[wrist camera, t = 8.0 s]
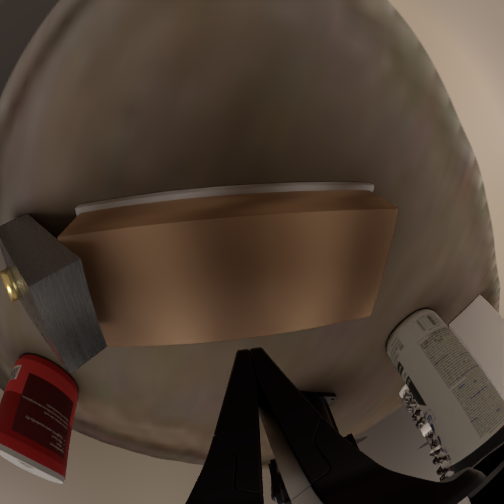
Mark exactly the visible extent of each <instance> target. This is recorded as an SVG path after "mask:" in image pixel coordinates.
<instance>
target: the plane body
mask: <svg viewBox="0 0 504 504" xmlns="http://www.w3.org/2000/svg"><path fill="white" fill-rule="evenodd" d="M373 190H374V185H373V184H371V183H369V182H294V183H267V184H248V185H232V186H219V187H207V188H196V189H185V190H176V191H167V192H158V193H150V194H143V195H135V196H128V197H121V198H115V199H108V200H102V201H96V202H90V203H85V204H79V205H78V206H77V207H76V208H75V211H76V215H77V217H76V218H75V219H74V220H73V221H72V222H71V223H70V224H69V225H68V226H67V227H66V228H65V230H64V231H63V232H62V233H61V234H60V235H59V236H58V237H57V238H58V241H60V242H61V243H62V244H63V245H64V246H66V247H67V248H68V249H69V250H71V251H72V252H73V253H74V254H76V255H77V256H78V257H79V258H81V261H82V265H83V269H84V274H85V277H86V281H87V285H88V289H89V292H90V296H91V299H92V303H93V306H94V309H95V312H96V315H97V319H98V322H99V325H100V327H101V330H102V333H103V336H104V339H105V341H106V344H107V347H120V346H157V345H176V344H191V343H203V342H214V341H224V340H234V339H242V338H250V337H258V336H265V335H273V334H279V333H286V332H292V331H298V330H304V329H310V328H315V327H321V326H326V325H331V324H336V323H341V322H346V321H351V320H355V319H360V318H364V317H368V316H370V315H371V313H372V310H373V307H374V303H375V300H376V297H377V294H378V291H379V288H380V284H381V281H382V277H383V274H384V270H385V267H386V263H387V259H388V255H389V251H390V247H391V243H392V239H393V235H394V230H395V226H396V221H397V216H398V211H399V209H398V208H397V207H395V206H394V205H392V204H391V203H389V202H388V201H386V200H384V199H383V198H381V197H380V196H378V195H376V194H375V193H373Z"/></svg>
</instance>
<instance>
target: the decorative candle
mask: <svg viewBox="0 0 504 504" xmlns="http://www.w3.org/2000/svg"><path fill="white" fill-rule="evenodd" d="M399 395H400V396H401V398H403V399H402V401H403V404H405V405H407V407H406V409H407V411H408V412H412V413H414V414H413V416H412V420H414V421H415V420H418V422H417V424H416V427H417V428H420V430H421V432H422V434H423V436H424V437H426V439H427V441H428V443H429V445H430V447H431V449H432V450H431V451H430V456H435V455H436V457H435V458H434V460H433V464H439V463H440V465H441V466H440V467H439V469H438V470H437V474H438V475H442V474H443V475H442V476H441V478H440V481H442V480H444V479H446V478H448V477H450V476H452V475H453V474H455V473H454V471H453V470H452V468H451V465H450V463H449V461H448V459H447V457H446V455H445V453H444V451H443V449H442V447H441V446H440V444H439V442H438V440H437V438H436V436H435V434H434V432H433V430H432V429H431V427H430V425H429V423H428V421H427V419H426V418H425V416H424V414H423V412H422V410H421V409H420V407H419V405H418V403H417V402H416V400H415V398H414V396H413V395H412V393H411V391H410V390H409V388H408V386H407V385H406V384H405V385H404V386H403V387H402V388H401V390H400V392H399ZM445 477H446V478H445Z"/></svg>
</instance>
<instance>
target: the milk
mask: <svg viewBox="0 0 504 504" xmlns="http://www.w3.org/2000/svg"><path fill="white" fill-rule="evenodd" d="M449 329H450V330H451V331H452V332H453V333H454V335H455V336H456V337H457V338H458V339H459V341H460V342H461V343H462V345H463V346H464V347H465V348H466V349H467V351H468V352H469V353H470V355H471V356H472V357H473V358H474V360H475V361H476V362H477V364H478V365H479V366H480V368H481V369H482V370H483V372H484V373H485V375H486V376H487V377H488V379H489V380H490V382H491V383H492V384H493V386H494V387H495V389H496V390H497V392H498V393H499V395H500V396H501V398H502V399H503V401H504V319H503V318H502V317H501V316H500V315H499V313H498V312H497V311H496V310H495V309H494V308H493V307H492V306H491V305H490V304H489V303H488V302H487V301H486V300H485V299H484V298H483V297H482V296H481V295H478V296H477V297H476V299H475V300H474V301H473V302H472V303H471V304H470V305H469V306H468V307H467V308H466V309H465V310H463V311H462V312H461V313H460V314H459V315H458V316H457V317H456V318H455V319H454V320H453V321H452V322H451V323H450V324H449Z"/></svg>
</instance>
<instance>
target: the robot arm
mask: <svg viewBox="0 0 504 504" xmlns="http://www.w3.org/2000/svg"><path fill="white" fill-rule="evenodd" d="M336 398H337V397H336V395H335V394H321V393H306V392H300V391H299V390H298V389H297V388H296V387H295V386H294V385H293V383H292V382H291V381H290V380H289V379H288V378H287V377H286V375H285V374H284V373H283V372H282V371H281V370H280V368H279V367H278V366H277V365H276V364H275V363H274V361H273V360H272V359H271V358H270V357H269V356H268V354H267V353H266V352H265V351H264V350H263V349H262V348H260V347H259V348H252V349H250V351H249V350H248V349H244V350H238V351H237V353H236V356H235V360H234V364H233V367H232V371H231V375H230V378H229V382H228V386H227V389H226V393H225V397H224V400H223V404H222V408H221V411H220V415H219V418H218V422H217V426H216V429H215V433H214V435H215V436H213V439H212V443H211V446H210V449H209V452H208V456H207V459H206V461H205V463H204V466H203V469H202V471H201V473H200V475H199V477H198V479H197V481H196V483H195V485H194V488H193V490H192V492H191V494H190V496H189V498H188V500H187V502H186V503H185V504H264V499H263V482H262V464H261V446H260V428H259V413H260V416H261V419H262V422H263V425H264V428H265V431H266V434H267V437H268V440H269V443H270V446H271V449H272V451H273V454H274V457H275V459H273V460H270V462H271V463H270V464H268V465H269V469H270V474H271V497H272V500H274V501H275V502H277V503H278V504H504V442H503V443H502V444H500V445H499V446H497V447H496V448H495V449H493V450H492V451H491V452H489V453H488V454H487V455H486V456H484V457H483V458H482V459H481V460H479V461H478V462H477V463H476V464H475V465H473V466H472V467H471V468H470V467H467V468H465V469H463V470H461V471H459V472H457V473H455V474H453V475H452V476H450V477H448V478H446V479H444V480H442V481H440V482H434V481H429V480H425V479H421V478H416V477H412V476H408V475H404V474H401V473H397V472H394V471H391V470H389V469H387V468H385V467H383V466H381V465H379V464H378V463H376V462H375V461H374V460H372V459H371V458H369V457H368V456H367V455H365V454H364V453H363V452H361V451H360V450H359V448H358V446H357V444H356V442H355V440H354V438H353V435H352V433H351V434H349V435H347V436H346V437H343V436H341V435H340V434H339V431H338V428H337V426H336V423H335V421H334V418H333V415H332V413H331V410H330V408H329V404H330V403H332V402H333V401H334V400H335V399H336Z"/></svg>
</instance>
